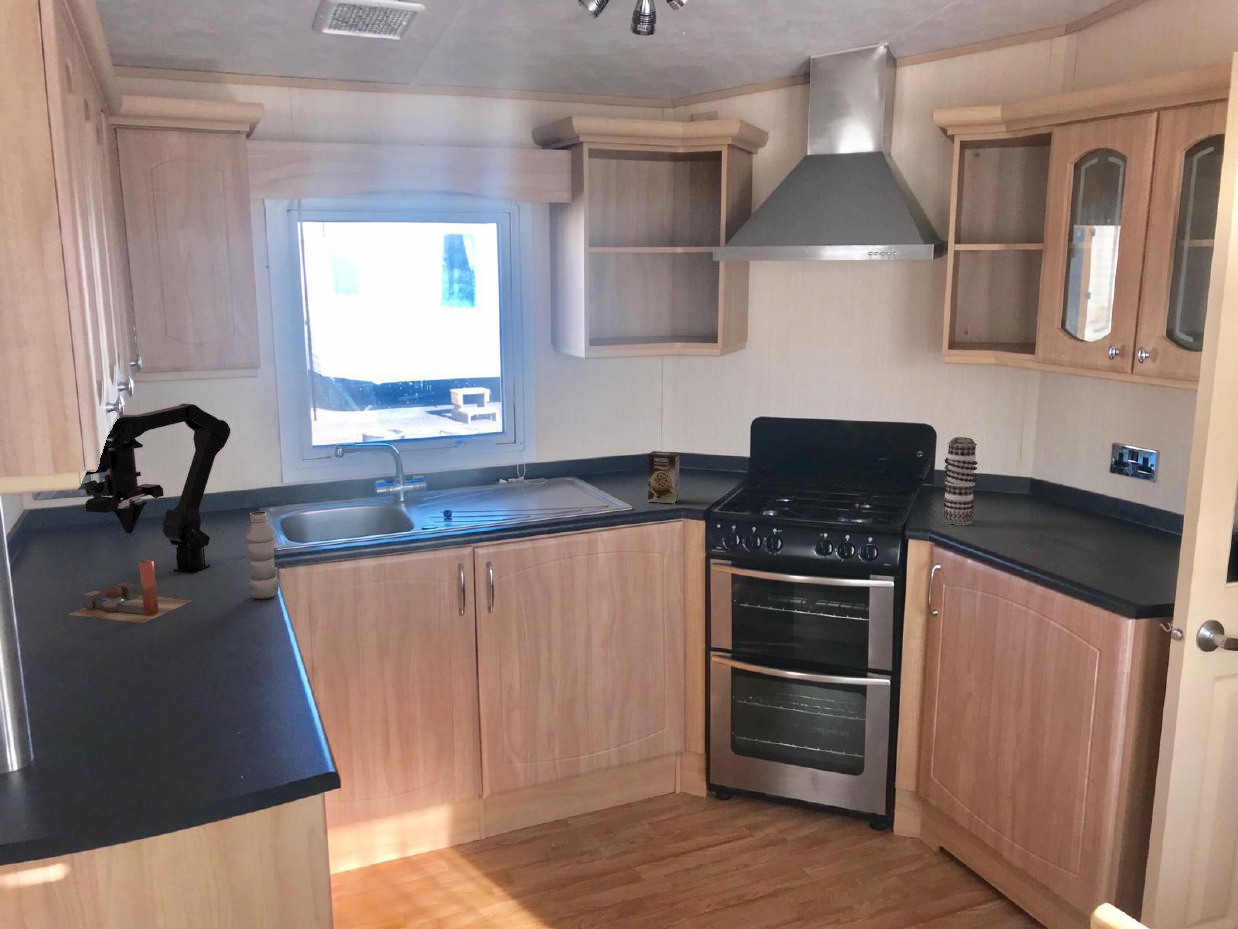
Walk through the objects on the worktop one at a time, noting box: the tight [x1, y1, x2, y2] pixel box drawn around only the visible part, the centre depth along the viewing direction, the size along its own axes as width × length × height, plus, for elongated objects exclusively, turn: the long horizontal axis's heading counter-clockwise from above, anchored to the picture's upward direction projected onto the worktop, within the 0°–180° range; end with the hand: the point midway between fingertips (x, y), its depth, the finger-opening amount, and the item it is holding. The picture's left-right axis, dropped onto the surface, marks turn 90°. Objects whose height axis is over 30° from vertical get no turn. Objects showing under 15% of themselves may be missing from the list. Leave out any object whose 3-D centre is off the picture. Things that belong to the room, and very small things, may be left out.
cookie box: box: [647, 450, 681, 503], centre depth 317 cm, size 9×6×16 cm
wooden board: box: [67, 582, 193, 624], centre depth 217 cm, size 15×20×4 cm
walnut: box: [104, 585, 123, 599], centre depth 221 cm, size 4×4×4 cm
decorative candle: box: [942, 436, 978, 522], centre depth 287 cm, size 9×9×25 cm
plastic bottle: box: [244, 510, 280, 600], centre depth 226 cm, size 6×7×20 cm
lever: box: [82, 559, 159, 615], centre depth 214 cm, size 18×4×11 cm, turn 73°
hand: (129, 533), depth 234 cm, fingers closed
